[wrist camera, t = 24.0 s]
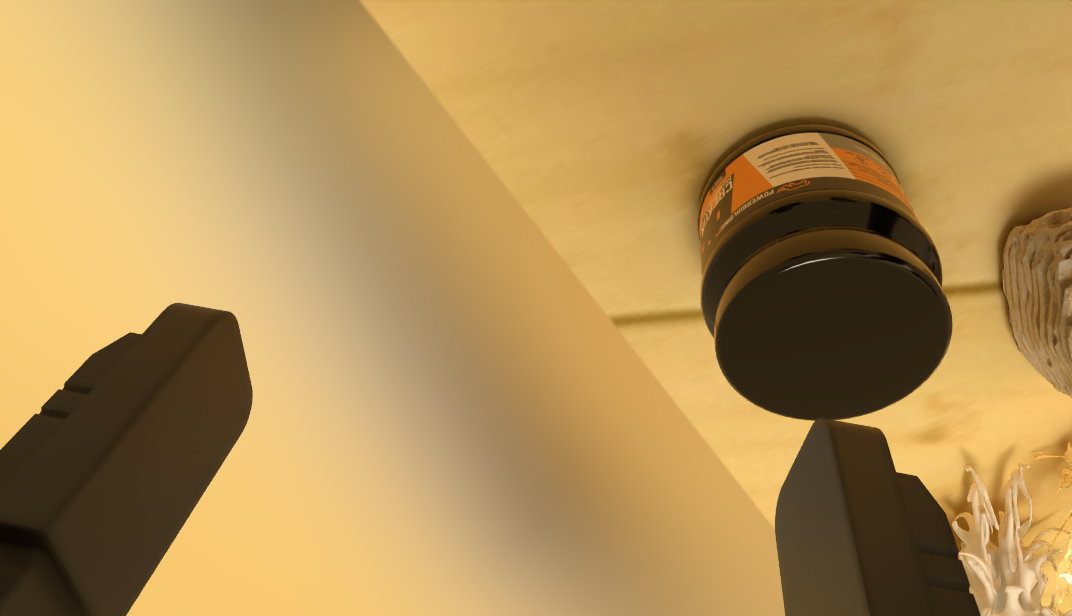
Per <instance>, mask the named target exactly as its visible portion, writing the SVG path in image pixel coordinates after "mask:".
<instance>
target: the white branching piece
mask: <svg viewBox="0 0 1072 616" xmlns="http://www.w3.org/2000/svg"><path fill="white" fill-rule="evenodd" d="M965 466H966V467H965ZM965 466H964V468H965V469H966V470H967V471H971V473H972V475H973V477H974V480H975V482H974V483H973V484H972V485H971V488H970V490H969V494H968V497H967V500H968V502H972V508H973V515H972V514H971V513H968V512H964V513H961V514H959V515H958V516H957V517H956V518H955V520H956V519H957V518H959V517H964V518H965V519H966V521H967V522H968V525H969V531H965V530H963V529H962V528H960V527H959V526H958V524H957V521H953V523H952V527H953V529H954V531H955V532H956V534H957V535H958V536H959V538H960V539H961V540H962V542H961V551H960V552H959V553H958V554H959V555H958V559H959V560H962V563H963V566H964V568H965V571H966V574H967V577H968V580H969V583H970V587H969V592H970V593H971V594H974V597H975V600H976V603H977V606H978V609H979V612H980V615H981V616H1055V615H1053V614H1052V613H1051V612H1053V613H1055V614H1057V615H1059V616H1072V611H1071V610H1070V611H1068V612H1067V613H1064V612H1062V611H1061V610H1059V609H1058V610H1059V614H1058V613H1057V612H1056V608H1055V607H1054V604H1055V596H1054V595H1053V596H1052V601H1051V604H1050V606H1049V607H1046V606H1044V607H1042V605H1041V597H1042V595H1043V592H1044V589H1045V586H1046V584H1047V582H1048V578H1047V576H1046V575H1045V574H1043V568H1042V566H1041V565H1042V564H1043V563H1044V562H1045V561H1047V560H1049V561H1051V563H1052V565H1053V567H1054V570H1055V572H1056V571H1057V567H1056V563H1055V561H1054V559H1053V558H1052V556H1050V555H1052V554H1055V553H1059V552H1063V550H1050V551H1048V553H1047V552H1045V553H1043V554H1040V555H1038V556H1036V557H1034V558H1033V559H1032V557H1033V554H1034V551H1036V550H1037V549H1038V548H1039V547H1040V546H1041V545H1047V546H1048V547H1050V546H1051V545H1050V544H1049V543H1048V542H1046V541H1044V540H1040V538H1041V537H1042V536H1043V535H1044V534H1046V533H1048V532H1050V531H1054V530H1058V531H1059V530H1060V528H1049V529H1046V530H1044V531H1042V532H1040V533H1039V534H1038V535H1037V536H1036V537H1035V538H1034V540H1033V541H1032V543H1031V544H1030V545H1029V546H1027V547H1025V545H1024V543H1023V540H1022V538H1023V536H1024V535H1025V533H1026V532H1027V530H1028V529H1029V527H1030V525H1031V523H1032V498H1031V496H1030V495H1029V494H1028V492H1027V489H1026V487H1025V483H1024V479H1023V475H1022V467H1023V466H1024V467H1026V468H1027V469H1028V468H1029V464H1025V463H1023V462H1019V463H1018V466H1019V471H1018V470H1016V469H1014V470H1012V472H1011V481H1010V480H1009V481H1007V483H1006V486H1005V512H1006V515H1005V514H1004V513H1003V512H1002V511H999V512H998V515H999V517H1000V526H999V525H998V523H997V519H996V517H995V514H994V511H993V508H992V505H991V503H990V500H989V497H988V494H987V492H986V488H985V486H984V483H983V481H982V479H981V477H980V476H979V475H978V474H977V473H976V472H974V471H973V469H972V468H971V467H970V466H969V465H965ZM1018 485H1019V486H1020V487H1021V489H1022V491H1023V493H1024V495H1025V497H1026V498H1027V499H1028V501H1029V505H1030V518H1029V519H1028V520H1027V521H1026V522H1025V523H1023V524H1022V525H1021V526H1020V522H1019V521H1020V520H1019V514H1018V507H1017V494H1018V491H1017V486H1018ZM1011 490H1012V499H1013V504H1014V508H1012V500H1011ZM978 493H979V498H980V500H981V502H982V504H983V506H984V508H985V510H986V512H985V513H982V515H981V512H980V507H979V500H978ZM984 500H985V501H984ZM985 502H986V504H987V506H988V508H989V509H987V506H986V504H985ZM989 513H990V514H991V516H992V518H991V516H990V514H989ZM1013 518H1014V521H1013ZM992 519H993V521H992ZM990 521H991V522H990ZM993 522H994V524H995V527H996V529H997V530H999V531H998V546H995V545H994V544H993V542H992V541H990V540H989V536H990V531H989V525H990V527H991V530H992V533H993V528H992V525H993V526H994V524H993ZM1014 522H1015V526H1016V529H1014ZM991 523H992V524H991ZM1061 531H1063V532H1066V533H1068V534H1070V532H1069V531H1066V530H1064V529H1062V530H1061ZM1046 553H1047V554H1046ZM1037 580H1038V581H1037ZM1053 609H1054V610H1055V611H1054V610H1053Z"/></svg>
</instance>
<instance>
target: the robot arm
mask: <svg viewBox="0 0 1072 616" xmlns="http://www.w3.org/2000/svg"><path fill="white" fill-rule="evenodd" d="M64 385H65V386H64V388H63V390H60V389H59V390H58V391H57V392H56V393H55V394H54V395H53V396H52V397H51V398H50V399H49V400H48V401H47V402H46V403H45V404H44V405H43V406H42V407H41V408H42V410H41V412H40V414H35V415H34V416H33V417H32V418H31V419H30V420H29V421H28V422H27V423H26V424H25V425H24V426H23V427H22V428H21V429H20V430H19V431H18V432H17V433H16V434H15V435H14V437H12V439H11V440H10V441H9V442H8V443H7V444H6V445H5V446H4V447H3V448H2V449H1V450H0V616H126V615H127V613H128V612H129V610H130V608H131V607H132V605H133V604H134V602H135V601H136V599H137V597H138V596H139V594H140V593H141V591H142V589H143V588H144V586H145V585H146V583H147V582H148V580H149V578H150V577H151V575H152V574H153V572H154V571H155V569H156V568H157V566H158V564H159V563H160V561H161V560H162V558H163V556H164V555H165V553H166V552H167V550H168V549H169V547H170V545H171V544H172V542H173V541H174V539H175V538H176V536H177V534H178V533H179V531H180V530H181V528H182V527H183V525H184V523H185V522H186V520H187V519H188V517H189V516H190V514H191V512H192V511H193V509H194V507H195V506H196V504H197V503H198V501H199V500H200V498H201V497H202V495H203V493H204V492H205V490H206V489H207V487H208V485H209V484H210V482H211V481H212V479H213V478H214V476H215V475H216V473H217V471H218V470H219V468H220V467H221V465H222V463H223V462H224V460H225V459H226V457H227V456H228V454H229V452H230V451H231V449H232V448H233V446H234V444H235V443H236V441H237V440H238V438H239V437H240V435H241V433H242V432H243V430H244V428H245V426H246V424H247V421H248V418H249V415H250V411H251V406H252V386H251V381H250V377H249V371H248V367H247V362H246V358H245V353H244V348H243V343H242V339H241V334H240V329H239V325H238V321H237V319H236V317H235V316H234V315H233V314H232V313H231V312H228V311H222V310H216V309H210V308H205V307H199V306H194V305H188V304H182V303H174V304H172V305H170V306H168V307H167V308H166V309H165V310H164V311H163V312H162V313H161V314H160V315H159V316H158V318H156V320H155V321H154V322H153V323H152V324H151V325H150V326H149V327H148V328H147V330H146V331H145V332H144V333H143V334H136V333H131V332H130V333H128V334H127V335H125V336H123V337H122V338H120V339H118V340H117V341H115V342H113V343H111V344H110V345H108V346H106V347H105V348H103V349H101V350H99V351H97V352H96V353H94V354H92V355H91V356H90V357H89V358H88V359H87V360H86V361H85V362H84V364H83V365H82V366H81V367H80V368H79V369H78V370H77V371H76V372H75V373H74V374H73V375H72V376H71V377H70V378H69V379H68V380H67V381H66V382H65V384H64ZM775 533H776V542H777V550H778V558H779V567H780V575H781V583H782V592H783V599H784V608H785V615H786V616H981V615H980V612H979V609H978V606H977V603H976V600H975V597H974V594H971V593H970V592H969V587H970V583H969V580H968V577H967V574H966V571H965V568H964V566H963V563H962V560H959V559H958V553H959V551H958V548H957V545H956V542H955V540H954V537H953V534H952V531H951V528H950V525H949V522H948V519H947V516H946V514H945V512H944V511H943V509H942V508H941V507H940V505H939V504H938V503H937V501H936V500H935V499H934V498H933V496H932V495H931V494H930V492H929V491H928V490H927V488H926V487H925V486H924V485H923V483H922V482H921V481H920V479H919V478H918V477H917V476H914V475H908V474H903V473H897V472H896V471H895V467H894V464H893V460H892V457H891V454H890V450H889V447H888V444H887V440H886V438H885V435H884V434H883V432H882V431H881V430H880V429H878V428H874V427H869V426H863V425H857V424H852V423H846V422H840V421H835V420H829V419H823V418H819V419H817V420H816V421H815V422H814V423H813V425H812V427H811V429H810V431H809V433H808V435H807V437H806V439H805V441H804V443H803V445H802V447H801V449H800V451H799V453H798V455H797V457H796V459H795V461H794V463H793V465H792V467H791V469H790V471H789V473H788V476H787V478H786V480H785V482H784V484H783V486H782V488H781V491H780V494H779V497H778V502H777V507H776V516H775Z"/></svg>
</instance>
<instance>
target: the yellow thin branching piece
mask: <svg viewBox="0 0 1072 616" xmlns="http://www.w3.org/2000/svg"><path fill="white" fill-rule="evenodd" d="M1067 449H1068V451H1066V452H1065V453H1064V455H1063V456H1048V455H1039V456H1038V457H1037V458H1035V457H1036V456H1035V455H1034V456H1035V457H1034V459H1040V458H1046V457H1063V458H1065V459H1066V460H1067V461H1068V462H1069V464H1070V465H1072V447H1071V445H1070V443H1068V447H1067ZM1032 453H1045V452H1032ZM1067 457H1068V458H1067ZM1062 471H1063V472H1062V473H1063V474H1064V475H1065V476H1064V475H1063V474H1061V475H1062V477H1061V480H1062V479H1064V480H1063V482H1060V484H1059V486H1060V485H1061V486H1060V487H1059V488H1060V489H1059V491H1058V493H1057V496H1058V494H1059V492H1060V490H1061V489H1062V488H1068V487H1069V486H1070V485H1071V484H1072V481H1071V480H1072V479H1068V478H1072V469H1071V470H1069V469H1065V470H1062ZM1069 476H1071V477H1069ZM1064 477H1065V478H1064ZM1067 479H1068V480H1070V481H1068V480H1067ZM1066 481H1067V482H1066ZM1068 482H1069V483H1068ZM1070 482H1071V483H1070ZM1066 483H1068V484H1066ZM1064 484H1065V485H1064ZM1063 485H1064V487H1063ZM1066 485H1068V486H1066ZM1065 486H1066V487H1065ZM1071 516H1072V513H1071V514H1070V516H1069V517H1068V519H1067V520H1066V522H1065V523H1064V525H1063V526H1062V528H1061V529H1060V530H1059V532H1058V534H1057V536H1058V535H1059V533H1060V532H1061V530H1062V529H1063V527H1064V526H1065V524H1066V523H1067V522H1068V520H1069V519H1070V518H1071ZM1057 536H1056V537H1055V539H1056V538H1057ZM1055 539H1054V541H1055ZM1054 541H1053V543H1054ZM1053 543H1052V544H1053ZM1052 544H1051V546H1052ZM1051 546H1050V548H1051ZM1050 548H1049V549H1050ZM1048 551H1049V550H1048ZM1048 551H1047V553H1048ZM1047 553H1046V554H1047ZM1069 554H1072V529H1071V533H1070V539H1069V543H1068V548H1067V552H1066V554H1065V556H1064V559H1063V562H1062V563H1060V564H1059V566H1058V567H1057V571H1056V574H1057V576H1056V577H1057V582H1056V583H1057V584H1056V594H1055V608H1056V612H1057V613H1058V614H1059V610H1058V603H1059V602H1061V601H1063V597H1064V595H1067V594H1068V592H1069V586H1068V585H1069V584H1070V585H1072V576H1071V573H1070V571H1069V568H1068V565H1070V564H1071V563H1072V561H1070V560H1072V559H1071V558H1070V557H1071V556H1072V555H1069ZM1069 558H1070V559H1069ZM1067 559H1068V560H1067ZM1070 562H1071V563H1070ZM1063 573H1064V574H1063ZM1061 574H1062V575H1061Z"/></svg>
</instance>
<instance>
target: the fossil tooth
mask: <svg viewBox="0 0 1072 616" xmlns="http://www.w3.org/2000/svg"><path fill="white" fill-rule="evenodd" d="M1003 260H1004V269H1003V270H1002V274H1003V290H1004V293H1005V295H1006V297H1007V300H1008V304H1009V311H1010V324H1011V325H1012V328H1013V333H1014V337H1015V339H1016V341H1017V344H1018V350H1019V351H1020V352H1021V353H1022V354H1023V355H1024V357H1025V358H1026V359H1027V360H1028V361H1029V362H1031V363H1032V365H1033V366H1034V367H1035V369H1036V370H1037V371H1038V373H1040V374H1041V375H1042V376H1043V377H1045V378H1046V379H1047V380H1048V381H1049V382H1050V383H1051V384H1053V385H1054V388H1055V389H1057V390H1058V391H1060V392H1061V391H1062V393H1064V394H1066V395H1069V396H1070V397H1071V398H1072V207H1071V208H1067V209H1063V210H1056V211H1052V212H1049V213H1047V214H1046V215H1044V216H1042V217H1040V218H1038V219H1033V220H1032V222H1031V223H1030V224H1028V225H1022V226H1016V227H1015V228H1014V229H1013V230H1012V231H1011V233H1010V234H1009V236H1008V239H1007V241H1006V244H1005V248H1004V251H1003Z"/></svg>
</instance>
